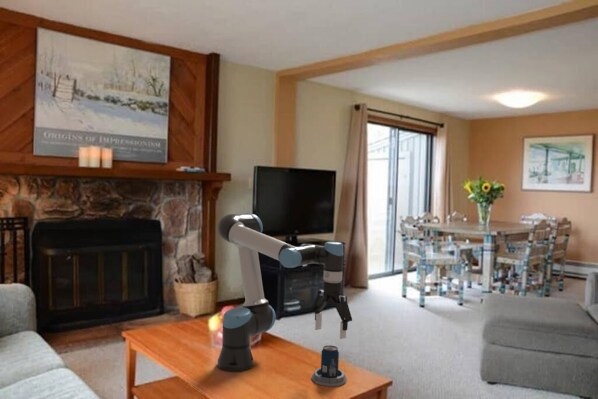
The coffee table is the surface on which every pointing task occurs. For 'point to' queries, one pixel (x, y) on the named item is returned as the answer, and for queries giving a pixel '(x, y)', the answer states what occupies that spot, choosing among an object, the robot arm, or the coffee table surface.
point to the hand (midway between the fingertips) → (330, 333)
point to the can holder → (329, 379)
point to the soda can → (329, 362)
